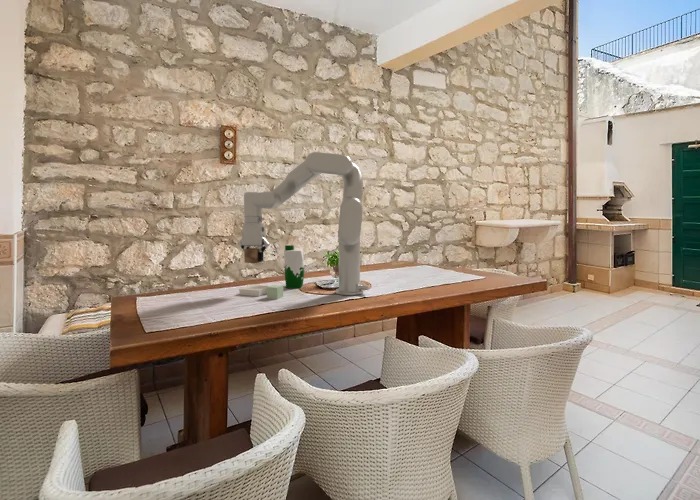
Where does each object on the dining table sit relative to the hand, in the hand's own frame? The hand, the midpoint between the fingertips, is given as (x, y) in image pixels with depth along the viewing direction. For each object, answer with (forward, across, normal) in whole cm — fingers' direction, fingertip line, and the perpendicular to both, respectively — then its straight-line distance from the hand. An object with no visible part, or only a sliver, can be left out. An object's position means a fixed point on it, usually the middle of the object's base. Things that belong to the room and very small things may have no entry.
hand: (254, 260), depth 182 cm
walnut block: (+1, 0, 0) cm, 1 cm away
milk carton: (+15, -10, -19) cm, 26 cm away
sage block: (+15, -13, +5) cm, 21 cm away
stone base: (+15, 0, 0) cm, 15 cm away
